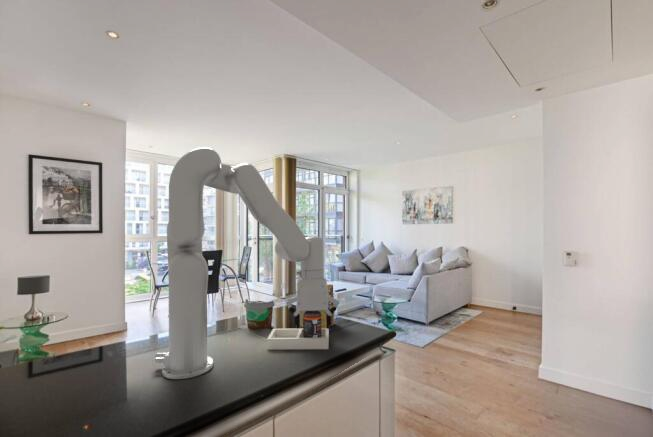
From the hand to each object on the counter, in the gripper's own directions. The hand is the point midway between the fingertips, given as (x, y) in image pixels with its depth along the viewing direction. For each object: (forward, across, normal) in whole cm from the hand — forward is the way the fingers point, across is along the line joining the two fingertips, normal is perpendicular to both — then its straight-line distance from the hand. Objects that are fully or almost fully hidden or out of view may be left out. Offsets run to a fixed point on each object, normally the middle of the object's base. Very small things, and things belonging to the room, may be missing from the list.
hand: (313, 327), depth 101 cm
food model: (+5, -4, +18) cm, 19 cm away
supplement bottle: (+4, 0, 0) cm, 5 cm away
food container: (+5, -22, +16) cm, 28 cm away
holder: (+5, -4, 0) cm, 7 cm away
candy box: (+5, +4, +17) cm, 18 cm away
